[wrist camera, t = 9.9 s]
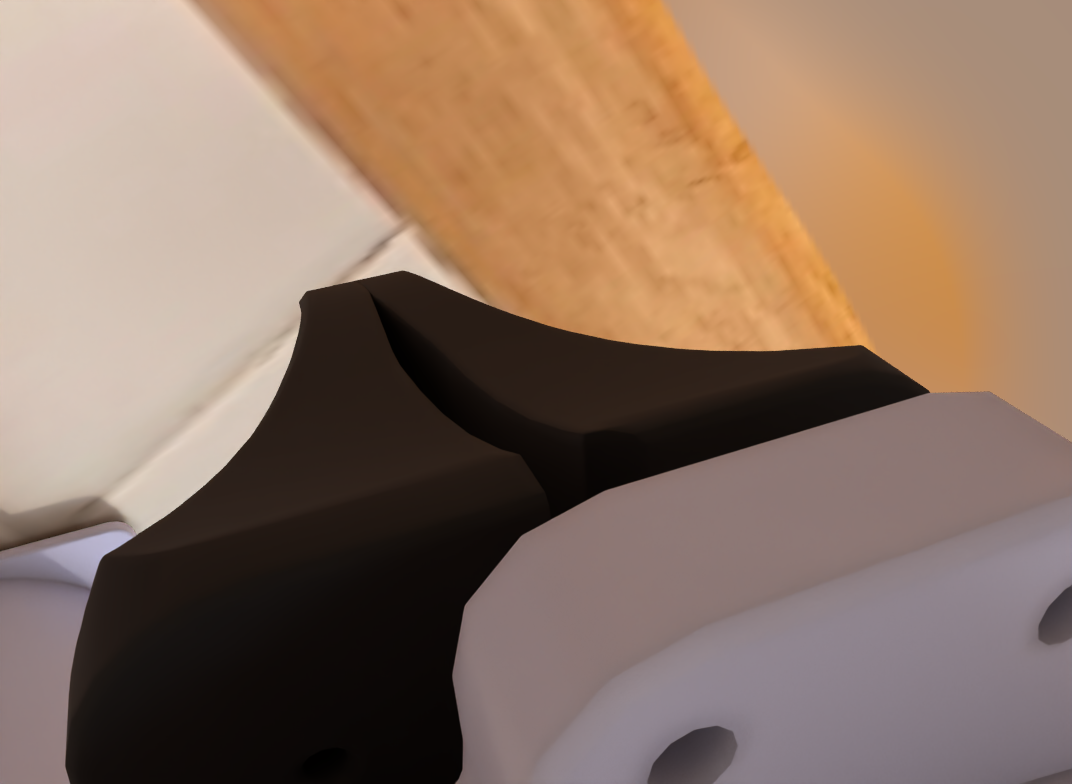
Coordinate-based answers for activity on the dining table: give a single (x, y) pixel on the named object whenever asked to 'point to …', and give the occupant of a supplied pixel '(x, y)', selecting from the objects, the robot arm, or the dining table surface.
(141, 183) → the dining table surface
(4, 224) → the dining table surface
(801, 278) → the dining table surface
